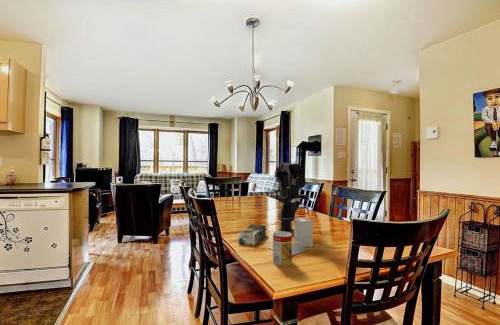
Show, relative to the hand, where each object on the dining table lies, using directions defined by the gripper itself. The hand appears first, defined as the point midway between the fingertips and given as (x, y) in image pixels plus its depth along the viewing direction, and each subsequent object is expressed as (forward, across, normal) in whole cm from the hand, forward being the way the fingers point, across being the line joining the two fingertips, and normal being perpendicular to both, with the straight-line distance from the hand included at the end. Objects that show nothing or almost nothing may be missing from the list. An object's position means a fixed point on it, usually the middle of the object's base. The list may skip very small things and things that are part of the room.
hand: (293, 213), depth 147 cm
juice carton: (+13, +21, -10) cm, 27 cm away
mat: (+13, +18, +13) cm, 25 cm away
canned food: (+13, +31, +23) cm, 41 cm away
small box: (+13, +7, +13) cm, 19 cm away
